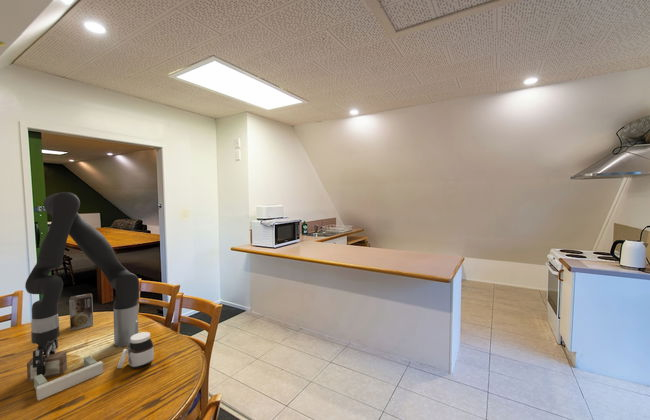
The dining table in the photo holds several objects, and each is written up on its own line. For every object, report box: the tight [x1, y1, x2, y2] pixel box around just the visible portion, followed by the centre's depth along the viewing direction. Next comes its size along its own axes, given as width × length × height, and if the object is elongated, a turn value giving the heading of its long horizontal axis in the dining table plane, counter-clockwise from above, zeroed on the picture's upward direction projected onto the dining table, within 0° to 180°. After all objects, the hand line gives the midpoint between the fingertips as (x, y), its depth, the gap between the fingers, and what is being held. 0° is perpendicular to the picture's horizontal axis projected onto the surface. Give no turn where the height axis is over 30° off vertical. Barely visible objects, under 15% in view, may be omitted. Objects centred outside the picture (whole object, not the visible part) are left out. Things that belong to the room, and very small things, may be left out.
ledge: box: [33, 355, 104, 402], centre depth 104 cm, size 18×10×4 cm, turn 147°
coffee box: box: [68, 292, 94, 331], centre depth 147 cm, size 9×6×16 cm
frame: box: [26, 351, 68, 383], centre depth 107 cm, size 10×4×7 cm, turn 117°
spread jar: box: [116, 331, 155, 370], centre depth 114 cm, size 12×11×12 cm
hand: (46, 368), depth 107 cm, fingers open, 8 cm apart
